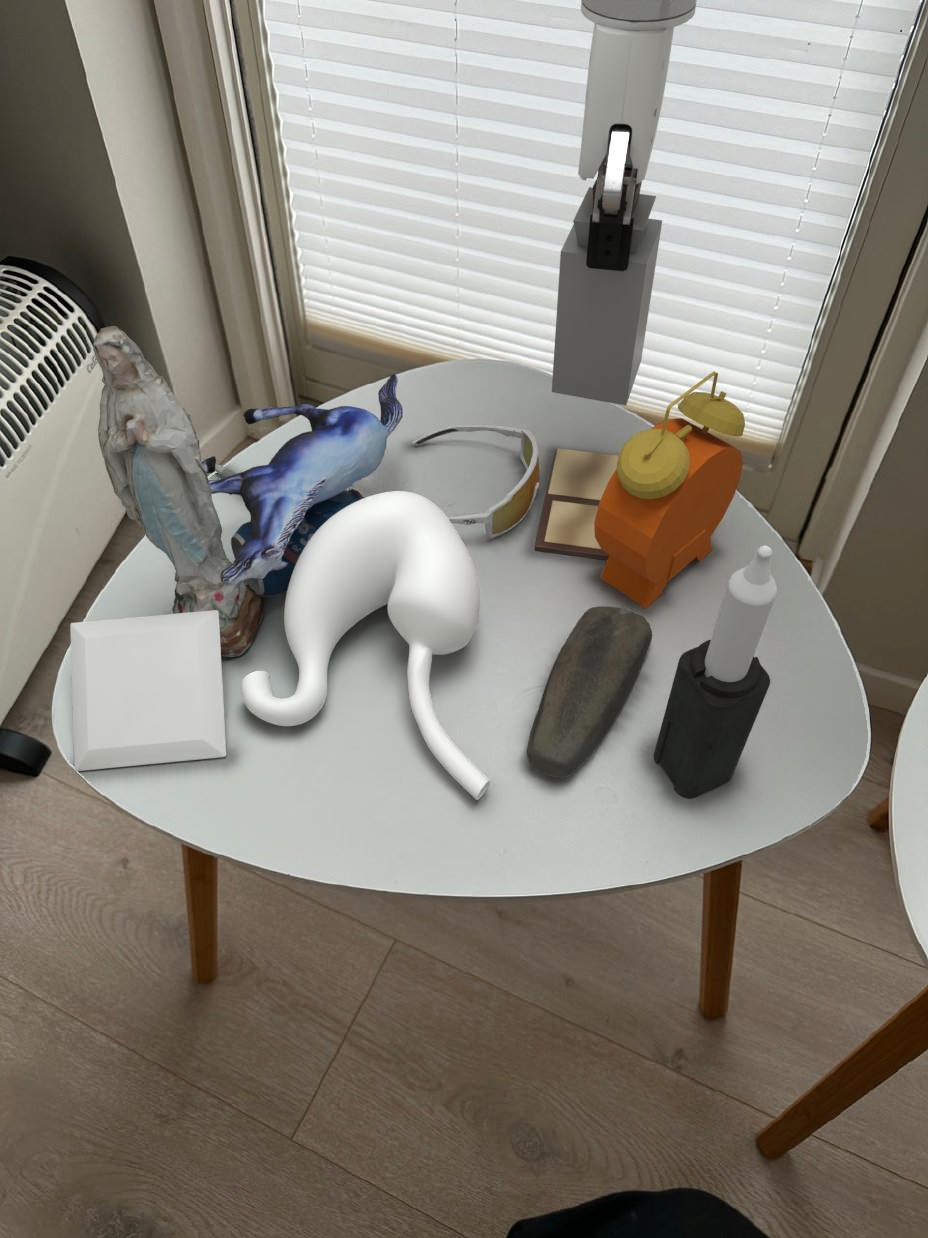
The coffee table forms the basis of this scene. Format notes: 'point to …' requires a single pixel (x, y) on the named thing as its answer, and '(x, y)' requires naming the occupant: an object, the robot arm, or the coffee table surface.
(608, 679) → the decorative stone
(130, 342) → the statue
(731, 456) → the alarm clock
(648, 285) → the perfume bottle
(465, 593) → the stomach
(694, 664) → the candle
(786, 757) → the coffee table surface
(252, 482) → the toy
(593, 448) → the coffee table surface
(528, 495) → the sunglasses
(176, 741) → the white chamfered tile
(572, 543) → the brown picture frame
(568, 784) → the coffee table surface
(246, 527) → the soda can
